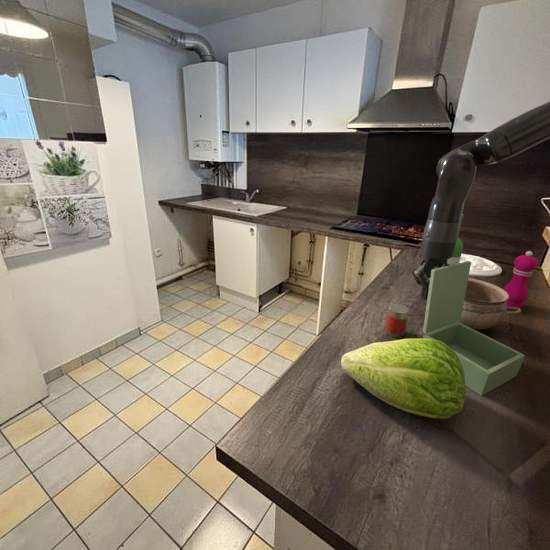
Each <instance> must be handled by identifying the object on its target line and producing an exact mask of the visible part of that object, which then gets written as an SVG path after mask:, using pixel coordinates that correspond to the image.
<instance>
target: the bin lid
mask: <svg viewBox="0 0 550 550" xmlns="http://www.w3.org/2000/svg"><path fill="white" fill-rule="evenodd" d="M470 266H471V261H466V262H462V263H457V264H453V265H449V266H445V267H441V268H437V269H432V270H431V277H430V285H429V292H428V299H427V301H426V305H425V306H426V307H425V314H424V320H423V321H424V322H423V328H422V333H423V334H424V335H425V334H427V333H430V332H433V331H435V330H438V329H441V328H443V327H446V326H449V325H451V324H453V323H456V322H459V321H460V320H461V314H462V309H463V304H464V298H465V293H466V287H467V282H468V278H469V277H470V275H469V271H470Z"/></svg>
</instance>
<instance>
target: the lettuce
mask: <svg viewBox="0 0 550 550" xmlns="http://www.w3.org/2000/svg"><path fill="white" fill-rule="evenodd" d="M340 364H341V370H342V372H344V373H345V374H347V375H348V376H349V377H350V378H352V379H353V380H354V381H355V382H356V383H358V385H360V386H361V387H362V388H364V389H365V390H366V391H367V392H369V393H370V394H371V395H372V396H373V397H375V398H378V399H379V400H380V401H382V402H384V403H386V404H387V405H390V406H391V407H393V408H396V409H398V410H402V411H403V412H406V413H408V414H413V415H417V416H422V417H426V418H432V419H446V420H447V419H450V418H452V417H453V416H455V415H457V414H459V413H461V412H462V411H463V407H464V406H465V403H466V391H467V389H466V388H467V386H466V385H465V376H464V370H463V367H462V364H461V361H460V359H459V358H458V356H457V354H456V353H455V352H454V351H453V350H452V349H451V348H450V347H448V346H447V345H446V344H445V343H444V342H442V341H440V340H435V339H429V338H423V337H422V338H420V337H418V338H415V337H414V338H413V337H412V338H403V339H402V338H400V339H396V340H395V339H394V340H389V341H378V342H375V341H374V342H372V343H369V344H367V345H363V346H361V347H359V348H356V349H354V350H351V351H348V352H346V353H344V354H343V355H341V360H340Z"/></svg>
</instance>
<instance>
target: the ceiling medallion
mask: <svg viewBox="0 0 550 550" xmlns="http://www.w3.org/2000/svg"><path fill="white" fill-rule="evenodd" d="M466 261H471V266H470V271H469V277H480V278H481V277H484V278H489V277H497V276H499V275H501V273H502V271H503V268H502V267H501V266H500V265H499V264H497V263H495V262H494V261H492V260H490V259H487V258H484V257H480V256H479V255H478V256H477V255H472V254H466V253H462V254H461V258H460V262H459V263H462V262H466Z"/></svg>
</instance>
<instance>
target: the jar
mask: <svg viewBox="0 0 550 550" xmlns="http://www.w3.org/2000/svg"><path fill="white" fill-rule="evenodd" d="M409 313H410V308H409V307H408V306H407V305H404V304H401V303H391V304H389V305H388V310H387V314H386V319H385V324H384V333H385V334H386V336H389V337H390V338H394V339H402V338H403V337H404V336H405V333H406V329H407V324H408V319H409Z"/></svg>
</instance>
